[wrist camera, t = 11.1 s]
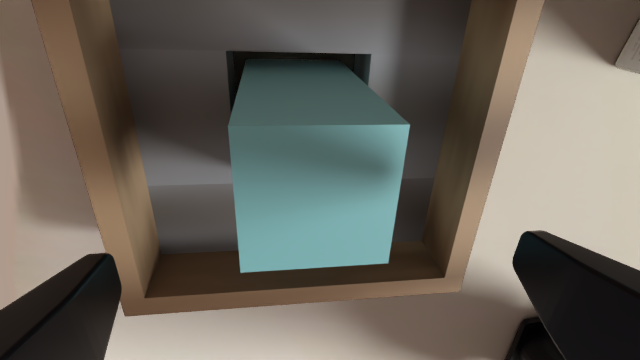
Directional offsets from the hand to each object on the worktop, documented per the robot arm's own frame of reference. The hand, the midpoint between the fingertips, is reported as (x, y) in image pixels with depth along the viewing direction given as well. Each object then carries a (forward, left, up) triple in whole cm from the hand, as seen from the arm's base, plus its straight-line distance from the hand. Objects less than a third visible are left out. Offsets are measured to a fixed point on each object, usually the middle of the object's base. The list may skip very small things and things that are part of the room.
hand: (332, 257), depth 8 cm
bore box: (0, 0, -12) cm, 12 cm away
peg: (0, 0, -12) cm, 12 cm away
